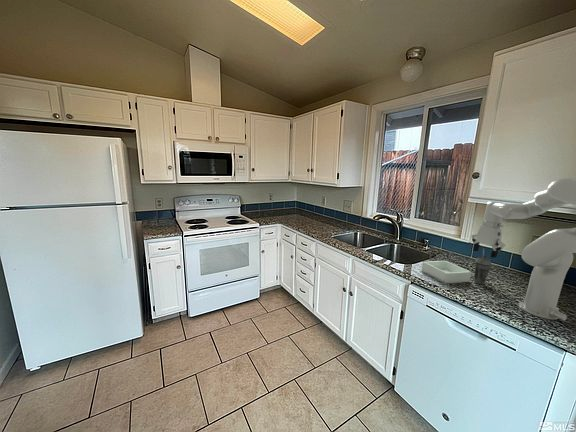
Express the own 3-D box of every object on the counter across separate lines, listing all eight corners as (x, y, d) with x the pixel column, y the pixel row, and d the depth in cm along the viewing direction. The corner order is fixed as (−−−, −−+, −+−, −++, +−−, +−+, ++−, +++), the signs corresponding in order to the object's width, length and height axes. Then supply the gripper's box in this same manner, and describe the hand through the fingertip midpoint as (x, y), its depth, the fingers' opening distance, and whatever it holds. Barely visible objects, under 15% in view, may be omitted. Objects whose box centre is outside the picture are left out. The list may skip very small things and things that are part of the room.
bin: (469, 281, 133) (471, 271, 132) (445, 283, 129) (446, 273, 128) (443, 269, 149) (445, 260, 148) (421, 270, 146) (423, 261, 144)
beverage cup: (490, 286, 129) (498, 251, 125) (475, 284, 130) (482, 250, 126) (482, 280, 136) (489, 247, 132) (468, 278, 137) (475, 246, 133)
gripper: (514, 228, 119) (506, 259, 123) (480, 220, 136) (474, 248, 139) (503, 228, 117) (495, 260, 121) (470, 220, 134) (464, 248, 138)
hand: (484, 254), depth 130 cm, fingers open, 9 cm apart
